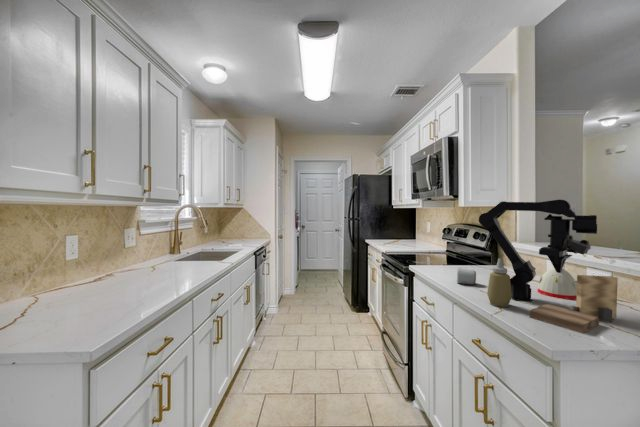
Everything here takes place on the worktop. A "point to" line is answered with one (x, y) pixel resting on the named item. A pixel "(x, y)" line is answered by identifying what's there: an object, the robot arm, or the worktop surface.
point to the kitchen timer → (558, 285)
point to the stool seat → (565, 318)
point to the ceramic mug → (466, 276)
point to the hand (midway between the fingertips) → (558, 272)
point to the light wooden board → (596, 294)
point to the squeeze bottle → (499, 286)
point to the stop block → (605, 314)
